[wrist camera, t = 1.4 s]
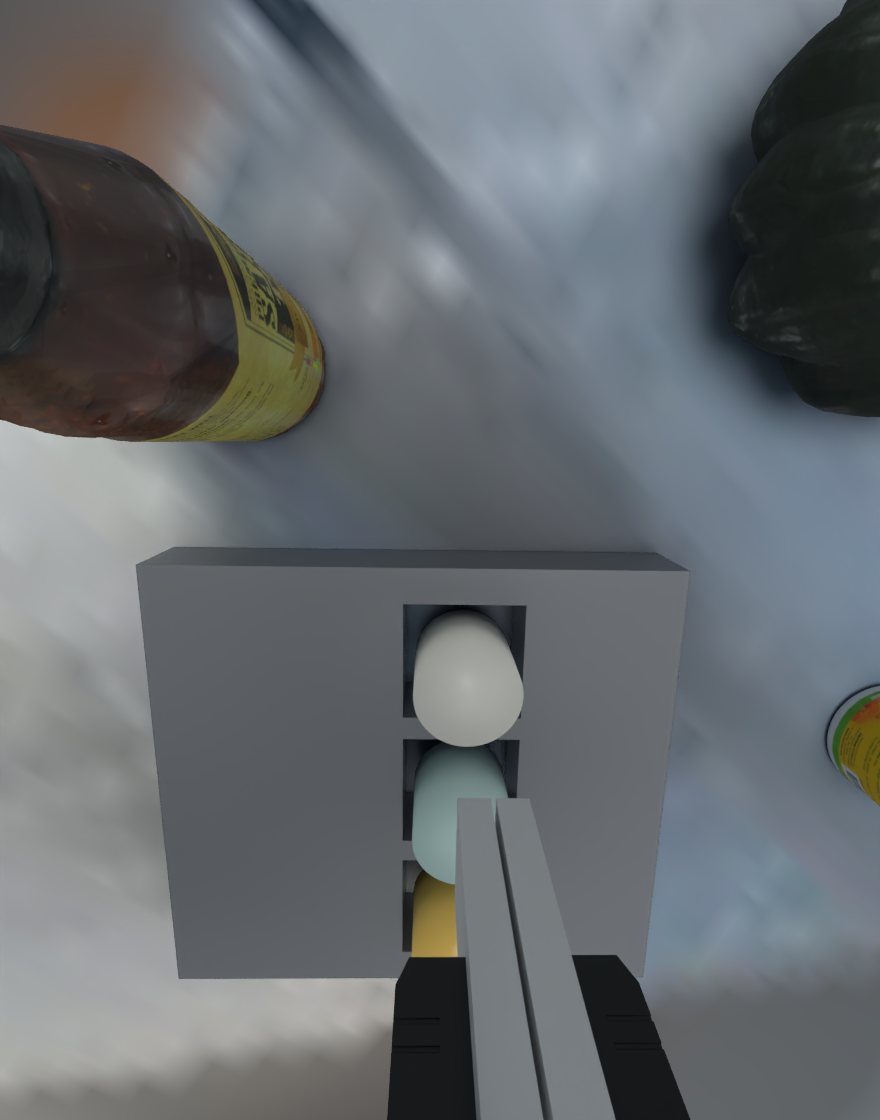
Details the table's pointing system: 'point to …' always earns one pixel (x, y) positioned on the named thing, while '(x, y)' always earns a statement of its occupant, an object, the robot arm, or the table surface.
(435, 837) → the teal button
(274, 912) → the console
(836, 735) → the supplement bottle
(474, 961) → the robot arm
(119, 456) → the table surface
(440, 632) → the ivory button
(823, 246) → the squash
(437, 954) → the amber button
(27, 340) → the sauce bottle
